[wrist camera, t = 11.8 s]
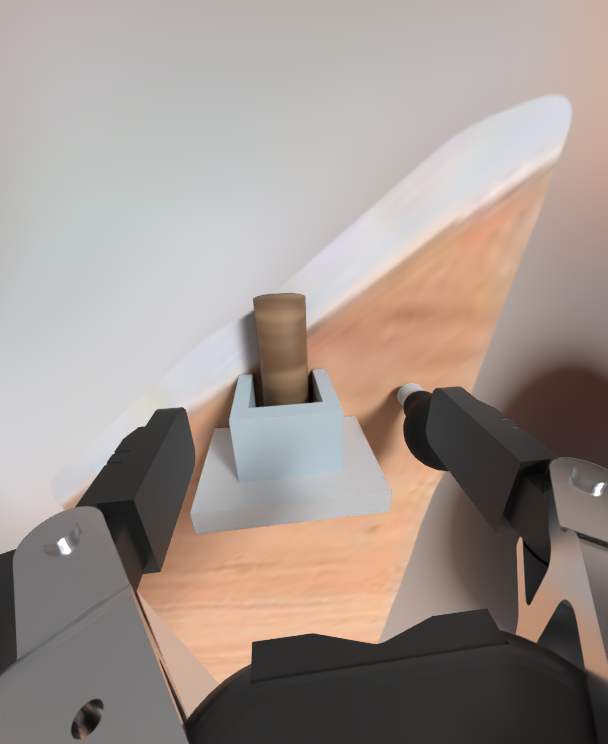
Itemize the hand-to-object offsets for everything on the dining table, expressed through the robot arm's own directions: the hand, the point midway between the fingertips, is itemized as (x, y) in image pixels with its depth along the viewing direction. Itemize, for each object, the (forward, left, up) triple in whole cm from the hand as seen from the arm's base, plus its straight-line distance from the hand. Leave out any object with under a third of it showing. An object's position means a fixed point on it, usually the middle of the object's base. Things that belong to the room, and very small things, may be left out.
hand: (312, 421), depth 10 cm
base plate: (+11, -1, -17) cm, 20 cm away
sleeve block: (+8, -1, -17) cm, 19 cm away
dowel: (+4, -1, -17) cm, 18 cm away
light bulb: (+9, +11, -17) cm, 22 cm away
